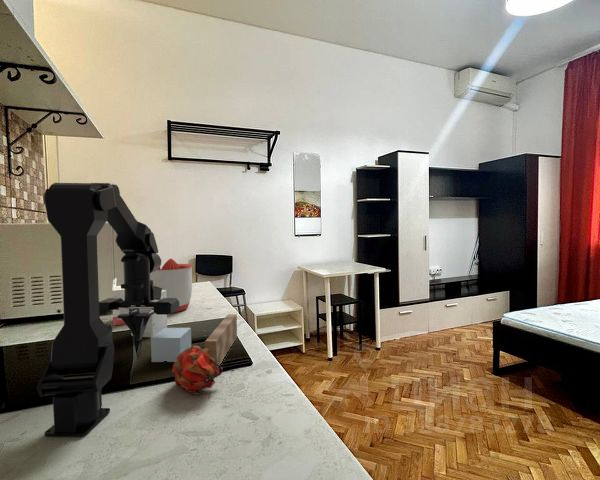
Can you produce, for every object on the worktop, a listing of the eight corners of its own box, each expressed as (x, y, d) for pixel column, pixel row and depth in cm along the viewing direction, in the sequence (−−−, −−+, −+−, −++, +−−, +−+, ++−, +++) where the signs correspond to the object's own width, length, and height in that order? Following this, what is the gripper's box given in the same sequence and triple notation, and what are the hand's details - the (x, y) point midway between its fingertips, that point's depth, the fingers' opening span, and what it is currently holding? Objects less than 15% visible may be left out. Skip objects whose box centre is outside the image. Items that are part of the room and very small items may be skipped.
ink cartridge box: (130, 323, 100) (128, 280, 99) (112, 326, 98) (111, 281, 97) (132, 316, 108) (131, 276, 107) (116, 318, 106) (114, 277, 105)
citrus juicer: (183, 301, 129) (182, 255, 128) (199, 309, 116) (198, 258, 115) (143, 308, 119) (142, 257, 118) (156, 318, 106) (154, 261, 105)
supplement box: (152, 338, 87) (151, 295, 87) (130, 336, 89) (128, 294, 88) (168, 329, 95) (167, 289, 94) (147, 327, 96) (146, 288, 96)
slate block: (180, 362, 72) (179, 337, 72) (151, 362, 72) (150, 337, 72) (191, 350, 79) (190, 327, 79) (165, 350, 79) (164, 327, 79)
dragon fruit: (185, 380, 66) (213, 412, 58) (153, 370, 61) (179, 403, 52) (208, 345, 69) (237, 370, 60) (179, 332, 63) (207, 358, 55)
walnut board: (216, 372, 67) (216, 341, 67) (205, 372, 67) (205, 341, 67) (237, 338, 87) (236, 314, 87) (228, 338, 87) (228, 314, 87)
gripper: (187, 272, 83) (188, 328, 83) (119, 273, 83) (121, 328, 84) (168, 280, 72) (170, 344, 72) (91, 280, 72) (93, 344, 73)
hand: (139, 339), depth 75 cm, fingers closed
